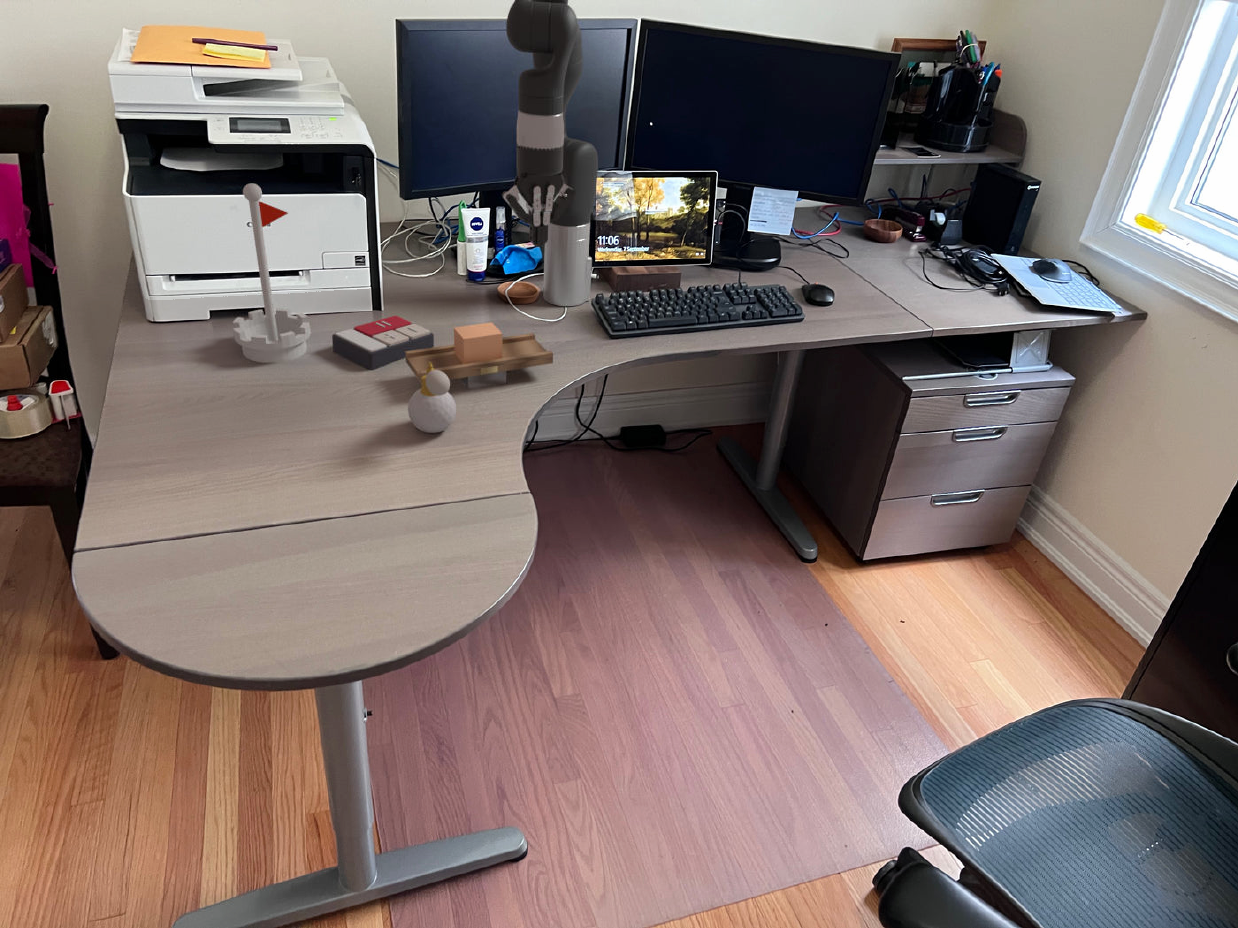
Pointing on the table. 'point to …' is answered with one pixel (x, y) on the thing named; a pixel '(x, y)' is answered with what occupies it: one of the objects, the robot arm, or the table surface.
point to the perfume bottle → (432, 403)
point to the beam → (484, 373)
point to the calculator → (381, 342)
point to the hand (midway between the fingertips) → (538, 245)
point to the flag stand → (268, 302)
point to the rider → (477, 343)
